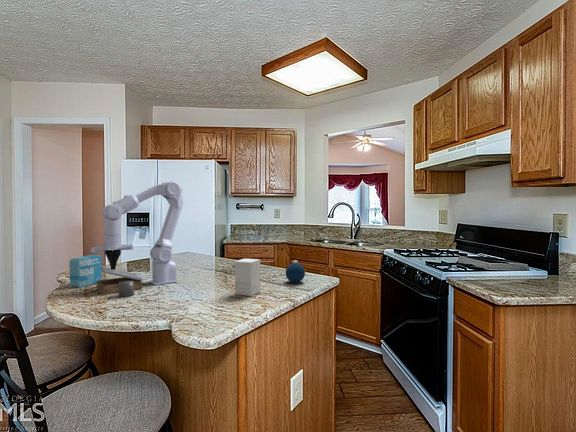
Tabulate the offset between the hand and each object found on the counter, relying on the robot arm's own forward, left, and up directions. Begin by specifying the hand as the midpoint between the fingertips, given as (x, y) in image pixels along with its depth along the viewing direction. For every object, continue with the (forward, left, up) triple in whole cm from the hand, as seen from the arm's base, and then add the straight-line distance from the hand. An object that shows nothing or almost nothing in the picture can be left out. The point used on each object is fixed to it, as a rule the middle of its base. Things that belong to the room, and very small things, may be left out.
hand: (113, 269), depth 134 cm
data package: (+7, -18, -9) cm, 21 cm away
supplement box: (-39, +38, -9) cm, 55 cm away
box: (-2, 0, -8) cm, 9 cm away
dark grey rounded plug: (-2, +12, -8) cm, 15 cm away
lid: (-2, 0, -3) cm, 3 cm away
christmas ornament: (-64, +36, -9) cm, 74 cm away
